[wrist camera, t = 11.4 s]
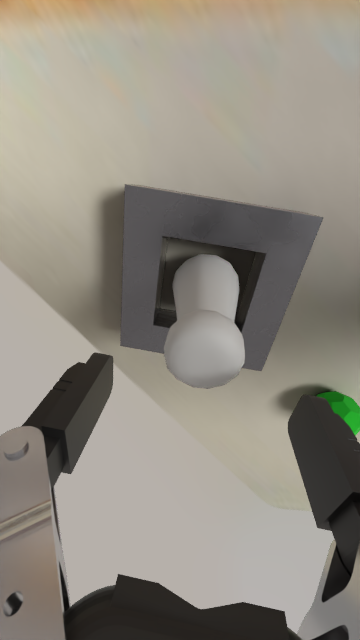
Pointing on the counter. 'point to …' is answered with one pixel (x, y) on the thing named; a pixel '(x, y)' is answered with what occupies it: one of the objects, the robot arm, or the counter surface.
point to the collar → (220, 229)
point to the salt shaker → (205, 324)
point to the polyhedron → (344, 408)
